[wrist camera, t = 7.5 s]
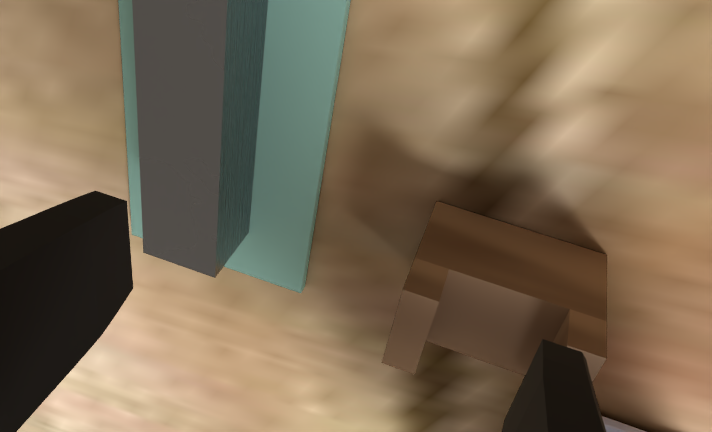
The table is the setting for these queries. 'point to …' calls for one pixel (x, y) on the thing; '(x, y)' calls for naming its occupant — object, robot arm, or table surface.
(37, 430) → the table surface
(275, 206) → the mat
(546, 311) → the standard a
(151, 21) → the rail
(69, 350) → the robot arm
